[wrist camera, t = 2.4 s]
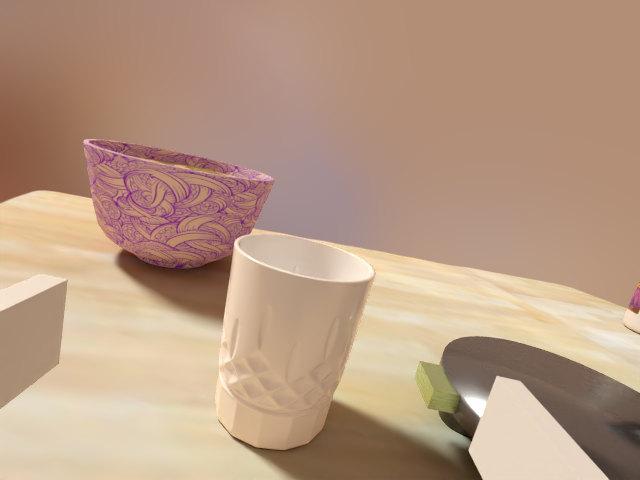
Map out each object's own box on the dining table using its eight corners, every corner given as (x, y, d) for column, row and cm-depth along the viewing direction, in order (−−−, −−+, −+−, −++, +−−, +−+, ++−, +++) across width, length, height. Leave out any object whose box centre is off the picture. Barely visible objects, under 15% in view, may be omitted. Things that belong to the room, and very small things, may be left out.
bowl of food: (92, 223, 50) (101, 135, 47) (242, 242, 57) (256, 168, 55) (46, 281, 32) (57, 144, 29) (272, 297, 40) (296, 190, 37)
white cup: (358, 426, 23) (403, 275, 21) (255, 487, 17) (302, 288, 15) (279, 360, 28) (308, 233, 26) (179, 390, 22) (206, 231, 20)
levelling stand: (582, 407, 32) (602, 360, 31) (834, 649, 16) (891, 570, 15) (384, 365, 31) (399, 316, 30) (449, 577, 15) (484, 489, 14)
